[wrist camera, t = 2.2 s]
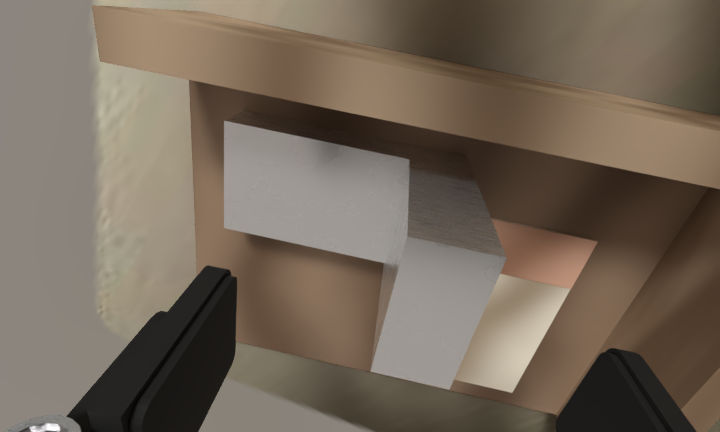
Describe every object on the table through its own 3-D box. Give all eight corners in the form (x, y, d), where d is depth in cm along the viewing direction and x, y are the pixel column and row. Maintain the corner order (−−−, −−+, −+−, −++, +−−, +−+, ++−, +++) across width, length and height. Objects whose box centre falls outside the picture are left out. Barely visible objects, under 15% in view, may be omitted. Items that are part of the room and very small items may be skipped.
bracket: (466, 156, 16) (506, 258, 9) (435, 251, 19) (449, 389, 12) (244, 110, 17) (118, 174, 10) (241, 208, 19) (139, 318, 12)
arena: (769, 125, 15) (960, 180, 10) (574, 405, 24) (620, 515, 18) (198, 11, 16) (92, 5, 11) (207, 321, 24) (150, 404, 19)
